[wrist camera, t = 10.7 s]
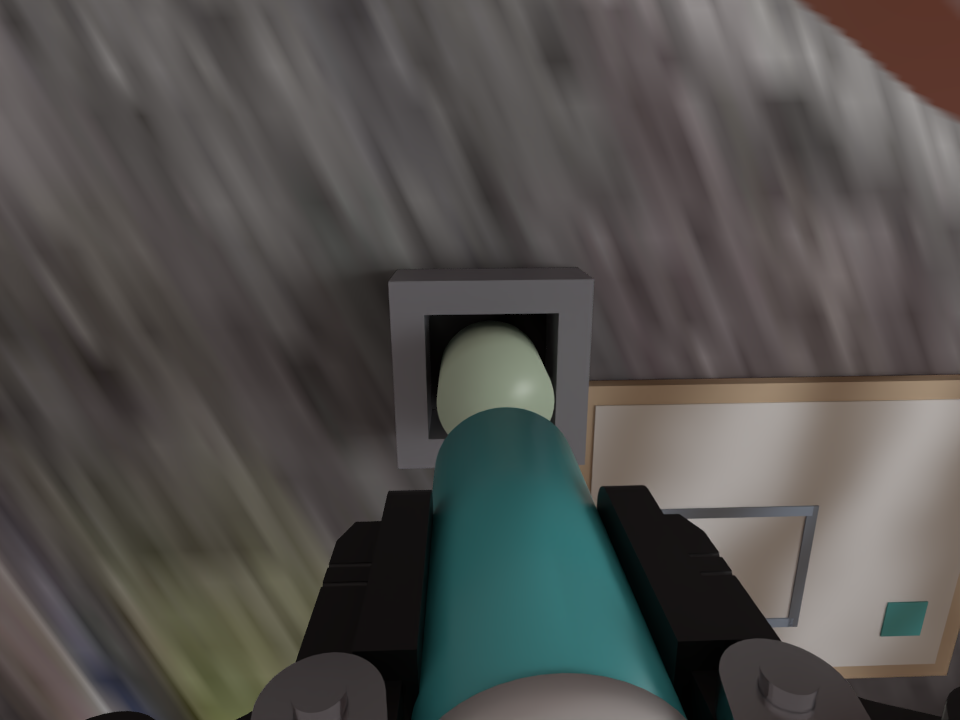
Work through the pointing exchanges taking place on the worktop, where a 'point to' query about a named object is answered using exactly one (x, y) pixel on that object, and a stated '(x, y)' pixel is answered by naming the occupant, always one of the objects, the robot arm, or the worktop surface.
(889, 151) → the worktop surface
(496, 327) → the button
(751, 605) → the robot arm
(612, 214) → the worktop surface
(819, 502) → the framed whiteboard
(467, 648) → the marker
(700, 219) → the worktop surface
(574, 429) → the button housing
